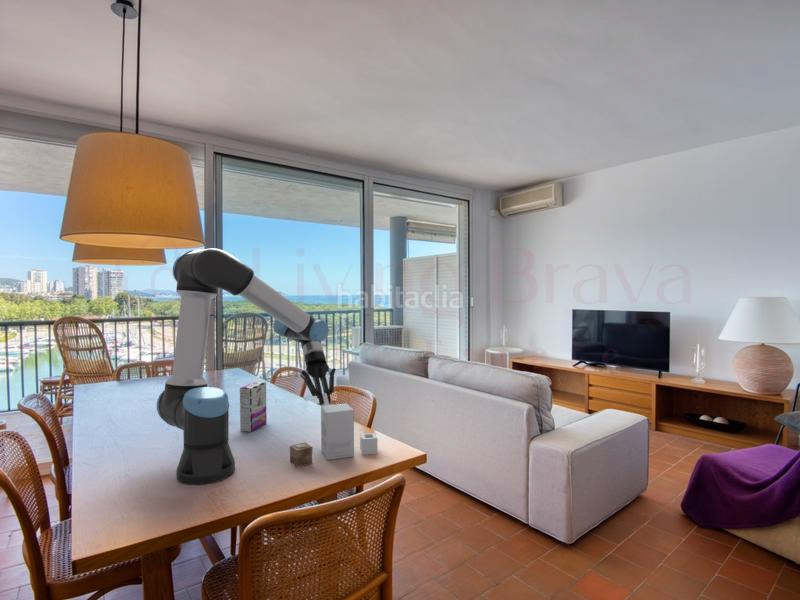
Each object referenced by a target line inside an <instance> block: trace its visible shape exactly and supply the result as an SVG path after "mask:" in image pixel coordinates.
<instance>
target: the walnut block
mask: <svg viewBox="0 0 800 600" xmlns="http://www.w3.org/2000/svg"><path fill="white" fill-rule="evenodd" d="M289 462H290V463H291V464H292V463H293V464H294V465H293V464H292V465H293V466H295V468H299V467H303V466H306V464H307V465H310V463H311V464H313V446H311V445H310V444H308V443H307V442H300V443H296V444H292V445H291V444H290V445H289ZM298 466H299V467H298Z"/></svg>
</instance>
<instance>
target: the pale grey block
mask: <svg viewBox="0 0 800 600" xmlns="http://www.w3.org/2000/svg"><path fill="white" fill-rule="evenodd" d="M359 438H360V439H359V450H360V453H361V455H375V454H378V436H377V434H376V433H375V432H374V433H373V432H372V433H360V436H359Z"/></svg>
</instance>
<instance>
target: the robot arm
mask: <svg viewBox="0 0 800 600" xmlns="http://www.w3.org/2000/svg"><path fill="white" fill-rule="evenodd" d="M172 276H173V279H174V280H175V282H176V289H175V290H176V293H177V294H178V295H179V296H180V304H179V312H178V321H177V328H176V329H177V331H176V337H175V348H174V357H173V362H172V363H173V364H172V372H171V373H172V374H171V376H170V377H169V378H168V379H167V380H166V381H165V383H164V390H163V391H161V393H160V394H159V396H158V398H157V401H156V411H157V415H158V416H159V417H160V418H161V420H162V421H164V422H165V423H166V424H167V425H169V426H172V427H176V428H177V429H180V430H182V431H183V450H182V452H181V456H180V459H179V462H178V464H177V468H176V481H177V482H179V483H182V484H185V485H193V486H194V485H205V484H211V483H215V482H219V481H221V480H224V479H226V478H228V477H229V476H231V475H232V474H234V472H235V471H236V461H235V458H234V455H233V453H232V452H233V451H232V449H231V447H230V444H229V428H230V427H229V423H230V422H229V419H230V417H229V408H230V402H229V395H228V393H227V392H226V391H225V390H223V389H222V388H218V387H211V386H208V384H209V383H208V380H207V379H206V378H205V377H204V370H205V364H206V363H205V361H206V354H207V353H206V351H207V343H208V334H209V327H210V317H211V308H212V302H213V299H215V298H216V297H217V296H218V291H219V289H220V290H223V291H225V292H227V293H229V294H230V295H232V296H235V297H237V296H240V297H242V298H243V299H244V300H246V301H248V302H249V303H251V304H252V305H254V306H255V307H257V308H258V309H260V310H261V311H263V312H264V313H265V314H268V315H269V316H270V317H272V318H273V319H274V322H273V324H272V326H273V327H272V329H273V332H274V333H275V334H278V335H279V336H281V337H283V338H284V337H285V338H287V339H289V340H292V341H295V342H297V343H299V344H300V345H301V348H302V349H301V350H302V353H303V358H304V363H305V370H301V372H300V378H302V379H303V380H304V382H305V383H306V384H305V385H306V386H307V388H308V389H309V392H310V394H311V396H312V397H316V398H317V399H318V404H319V405H320V406H325V405H331V402H332V398H331V396H332V395H333V393H334V390H335V374H336V368H330V366H329V365H328V362H327V359H326V356H325V351H324V348H323V344H322V342H323V341H324V340H325V339H327V338H328V335H329V332H330V328H329V325H328V323H327V322H326V321H325V320H322V319H317V318H315V317H313V316H311V315H310V314H309V313H307V312H306V311H304V310H303V309H302V308H300V306H297V305H296V304H295V303H294V302H292V301H290V300H289V299H288V298H286V297H285V295H282V294H281V293H280V292H278V291H277V290H276V289H274V288H273V287H271V286H270V285H268V284H267V283H266V282H264V281H263V280H262V279H260V278H259V277H257V276H256V275H255V271H254V270H253V269H252V268H251V267H250V266H249V265H247V264H246V263H244V262H243V261H242V260H240V259H238V258H237V257H236V256H234V255H232V254H231V253H228V252H227V251H225V250H222V249H220V248H213V247H212V248H211V247H210V248H206V249H191V250H189V251H186V252H183V253H182V254H180V255H179V256H178V257H177V258H176V259H175V261H174V262H173V266H172ZM327 374H328V375H329V377H328V378H329V379H328V381H329V382H328V381H327V376H326V375H327ZM311 377H312V379H311ZM313 382H314V383H313ZM320 382H321V383H320ZM328 383H329V384H328Z"/></svg>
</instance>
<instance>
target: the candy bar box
mask: <svg viewBox="0 0 800 600" xmlns="http://www.w3.org/2000/svg"><path fill="white" fill-rule="evenodd" d="M239 412H240V413H239V415H240V416H239V417H240V423H239V425H240V427H239V428H240V429H239V430H240V432H243V431H247V432H246V433H253V432H254V431H256V430H257V429H259V428H261V427H262V426H264V425H266V424H267V382H266V381H254V382H251V383H249V384H246V385H244V386H241V387H240V388H239Z"/></svg>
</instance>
